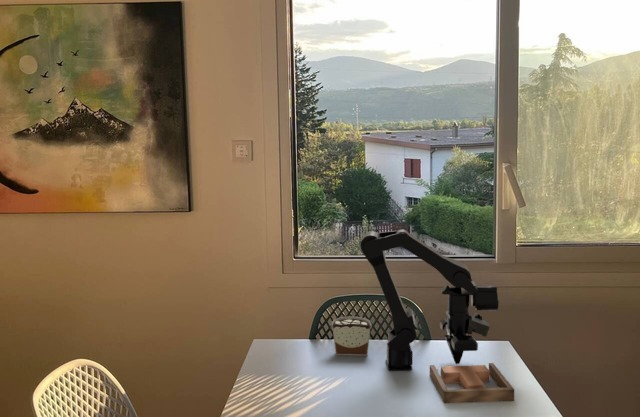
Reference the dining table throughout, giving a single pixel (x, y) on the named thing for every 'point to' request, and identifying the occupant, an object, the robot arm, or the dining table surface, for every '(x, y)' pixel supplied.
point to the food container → (351, 335)
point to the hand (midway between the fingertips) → (457, 363)
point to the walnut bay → (474, 395)
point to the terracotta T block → (466, 375)
